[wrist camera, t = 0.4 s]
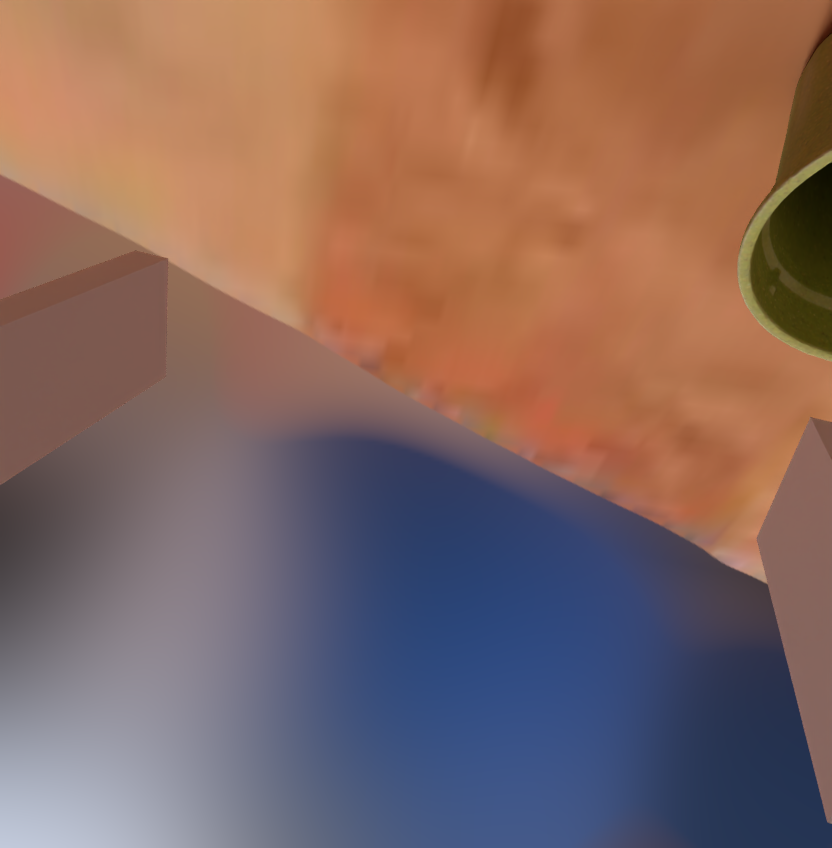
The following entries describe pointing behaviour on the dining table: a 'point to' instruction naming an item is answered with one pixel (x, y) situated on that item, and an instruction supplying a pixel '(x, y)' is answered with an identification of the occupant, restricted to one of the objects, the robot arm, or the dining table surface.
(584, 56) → the dining table surface
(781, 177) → the plant pot
